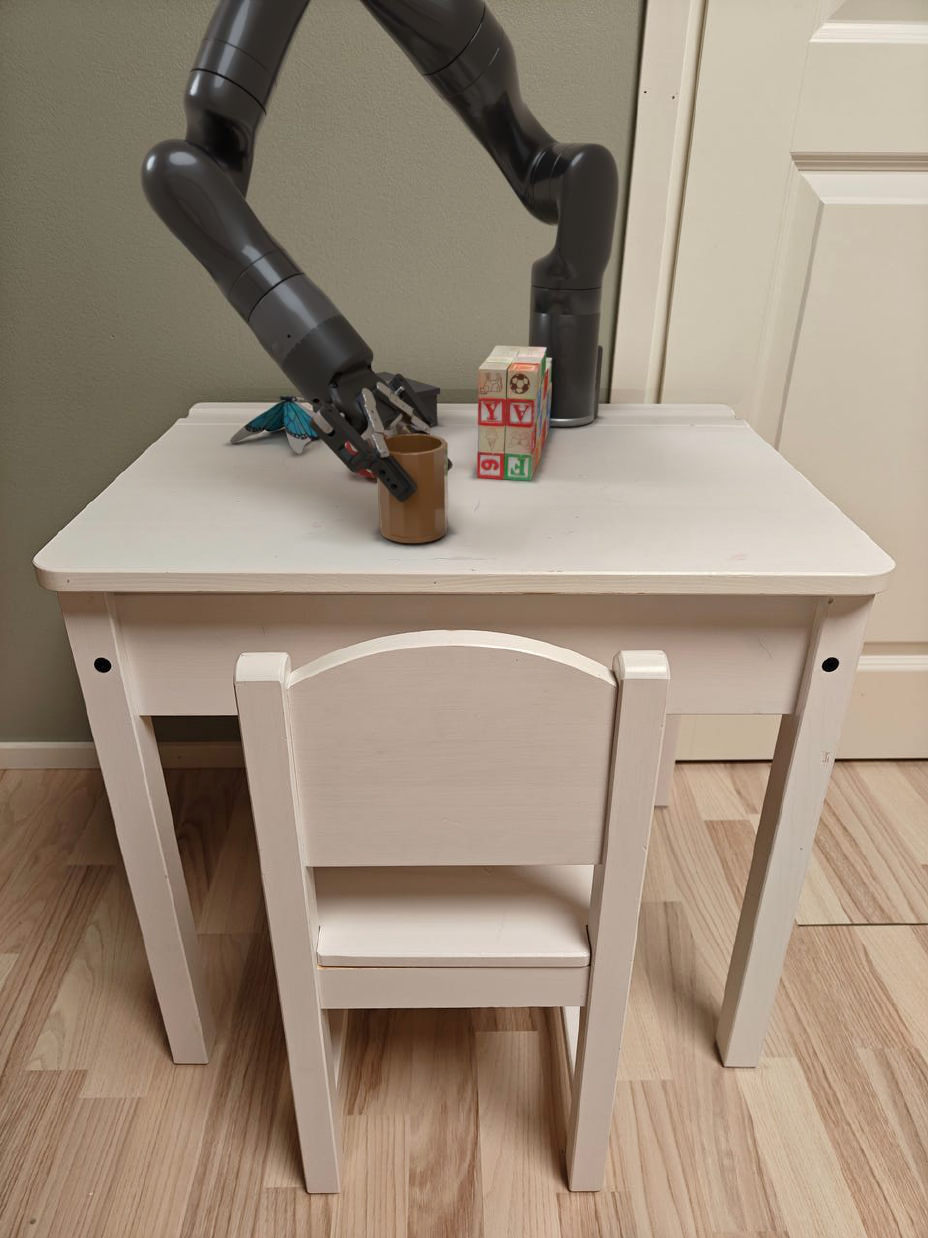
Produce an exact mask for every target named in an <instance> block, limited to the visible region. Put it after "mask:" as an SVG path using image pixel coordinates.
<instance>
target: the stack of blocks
mask: <svg viewBox="0 0 928 1238" xmlns="http://www.w3.org/2000/svg"><path fill="white" fill-rule="evenodd" d="M546 350H547V348H546V347H528V346H520V345H519V346H517V345H516V346H515V345H514V346H513V345H495V346H494V347H493V349H492V351H491V353H490V354H489V356H487V357H486V359H485V361H483V362H482V363H481V365H480V366H479V367H478V382H477V383H478V385H477V386H478V391H477V392H478V394H477V395H478V397H477V451H476V466H477V467H476V477H477V478H479V479H492V480H493V479H494V480H511V481H527V482H531V481H532V479H533V477H534V474H535V472H536V470H537V468H538V464H539V462H540V459H541V457H542V450H543V446H544V443H545V441H546V440H547V439H548V435H549V432H550V429H551V428H550V427H551V426H550V411H551V394H552V382H551V374H552V358H546Z"/></svg>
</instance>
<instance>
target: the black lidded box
mask: <svg viewBox="0 0 928 1238" xmlns="http://www.w3.org/2000/svg"><path fill="white" fill-rule="evenodd" d="M375 373H376V374H377V375H378V376H379V377H380V378H382V379H383V380H384V381H389V380H391V379H392V378H393V377H394V376H395V375H396V374H394V373H391V372H389V371H381V372H375ZM404 378H405V379H406V381H407V382H408V383H409V385H410V386H411V387H412V389H413V390H414V391H415V393H416V394H417V395H418V397H419V398H420V399H421V401H422V402H423V404H424V405H425V406H426V408H427V409H428V410H429V412H430V413H431V414H432V416H433V417H434V419H435V423H434V424H433V425H432V426H431V428H432V427H436V426H438V395H440V394H441V388H440V387H438V386H434V385H431V384H429V383H425V382H421V381H418V380H414V379H411V378H408V377H404ZM321 407H322V406H319V407H315V406H312V411H314V412H315V413H317V412H318V411H319V409H320V408H321ZM413 414H414V415H415V416H416V417H417V418H419V419H421V417H420V416H419V414H418V413H417V412H416V410H415V409H414V410H413ZM396 416H397V417H398V415H397V413H396Z"/></svg>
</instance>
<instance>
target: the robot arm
mask: <svg viewBox="0 0 928 1238" xmlns="http://www.w3.org/2000/svg"><path fill="white" fill-rule="evenodd" d="M312 1H313V0H218V2H217V4H216V6H215V7H214V9H213V12H212V13H211V16H210V18H209V20H208V22H207V25H206V27H205V30H204V33H203V35H202V37H201V40H200V43H199V45H198V48H197V51H196V54H195V55H194V56H195V57H194V59H193V61H192V65H191V68H190V70H189V74H188V75H187V79H186V82H185V85H184V89H183V95H182V107H183V111H184V116H185V122H186V128H185V129H186V132H185V136H184V138H179V137H172V138H166V139H163V140H160V141H157V142H156V143H154V144H153V145H152V146H150V148H149V149H148V150H147V151H146V153H145V155H144V157H143V159H142V162H141V164H140V172H139V179H140V187H141V192H142V193H143V197H144V199H145V201H146V203H147V205H148V206H149V209H150V210H151V211H152V212H153V213H154V214H155V216H156V217H157V218H158V219H159V220H160V221H161V222H162V224H163V225H164V226H165V227H166V228H167V229H168V231H169V232H170V233H171V234H172V236H173V237H175V239H177V240H178V241H179V242H180V243H181V245H183V246H184V248H185V249H187V251H188V252H189V253H190V254H191V255H192V256H193V258H194V259H196V260H197V262H198V263H199V264H200V265H201V266H202V267H203V268H204V270H205V271H206V272H207V273H208V275H209V276H210V277H211V279H212V281H213V282H214V284H215V285H216V287H217V288H218V290H219V291H220V293H221V294H222V296H223V297H224V298H225V300H226V301H227V302H228V304H230V306H231V307H232V308H233V309H234V310H235V312H236V313H237V314H238V316H239V317H240V318H241V319H242V320H243V322H244V323H245V324H246V325H247V326H248V327H249V329H250V330H251V331H252V334H254V336H255V337H256V339H257V341H258V343H259V344H260V345H261V347H262V349H263V350H264V351H265V352H266V354H267V355H268V356H269V357H270V358H271V360H272V361H273V362H274V363H275V365H276V366H277V367H278V368H279V369H280V370H281V372H282V373H283V374H284V375H285V376H286V378H287V379H288V380H289V382H291V384H292V385H293V386H294V388H295V389H296V390H297V391H298V392H299V393H300V394H301V396H302V398H303V399H305V401H306V402H307V403H308V404H309V405H310V406H312V407H313V406H315V407H319V406H322V407H321V408H320V409H319V411H318V412H317V413H316V414H315V415H314V416H313V417H312V419H311V420H310V421H309V426H310V427H311V429H312V430H313V431H314V432H315V433H316V434H317V435H318V436H319V437H320V440H321V441H322V442H323V443H324V444H325V445H326V446H327V447H328V448H329V449H330V451H332V453H334V455H336V457H337V458H338V459H339V460H340V461H341V462H342V464H344V465H345V467H347V468H348V469H349V470H350V472H352V473H355V474H356V473H357V472H358V471H359V470H360V469H365V470H366V471H368V472H373V473H374V474H375V475H376V476H377V477H378V478H379V480H380V481H381V482H382V483H383V484H384V485H385V487H386V488H387V489H388V490H389V492H390V493H391V494H392V495H393V496H394V497H396V499H397V500H398V501H400V502H404V501H405V500H407V499H408V498H409V497H410V496H412V495H413V494H414V493H415V492H416V491H417V489H418V487H417V484H416V483H415V482H414V480H413V479H412V478H411V477H410V476H409V474H408V473H407V472H406V471H405V470H404V468H403V467H402V466H401V465H400V464H399V463H398V461H397V460H396V459H395V458H394V457H393V455H392V456H391V457H389V458H388V456H389V450H388V448H387V446H386V443H385V441H384V438H383V434H385V435H386V436H391V435H397V434H405V433H409V432H407V431H406V430H404V429H403V427H404V426H406V427H407V428H408V430H409V431H410V432H411V433H420V434H429V435H431V432H432V429H431V428H432V427H433V426H432V425H433V424H434V423H435V419H434V417H433V416H432V414H431V413H430V412H429V410H428V409H427V408H426V406H425V405H424V404H423V402H422V401H421V399H420V398H419V397H418V395H417V394H416V393H415V391H414V390H413V389H412V387H411V386H410V385H409V383H408V382H407V381H406V379H405V378H406V377H404V376H403V374H401V373H396V374H394V375H395V376H394V377H393V378H392V379H391V380H389V381H384V380H383V379H382V378H380V377H379V376H378V375H377V374H376V373H377V372H375V371H373V369H372V363H373V361H374V351H373V350H372V348H371V347H370V346H369V345H368V343H367V342H366V341H365V340H364V339H363V338H362V336H361V335H360V334H359V332H358V331H357V330H356V329H355V328H354V327H353V325H352V324H351V322H349V320H348V319H347V318H346V316H345V315H344V314H343V313H342V311H341V310H340V309H339V308H338V306H336V304H335V303H334V302H333V300H332V299H331V298H330V297H329V296H328V295H327V294H326V292H325V291H323V290H322V289H321V288H320V287H319V286H318V285H317V284H316V283H315V282H314V281H313V280H312V279H311V278H310V277H309V275H307V273H305V271H304V270H303V268H302V267H301V266H300V265H299V263H298V262H297V261H296V260H295V259H294V258H293V256H292V254H290V253H289V252H288V251H289V250H287V249H286V248H285V247H284V245H282V243H281V242H280V241H278V240H277V238H275V236H274V235H273V234H272V233H271V232H270V231H269V230H268V229H267V228H266V227H265V225H264V224H263V223H262V222H261V220H260V219H259V218H258V216H257V214H256V213H255V212H254V210H253V209H252V207H251V205H250V204H249V203H248V202H247V196H248V191H249V188H250V187H249V186H250V181H251V176H252V172H253V166H254V161H255V153H256V147H257V142H258V139H259V135H260V132H261V130H262V128H263V125H264V123H265V120H266V117H267V115H268V112H269V109H270V107H271V105H272V102H273V99H274V97H275V93H276V91H277V88H278V85H279V82H280V80H281V77H282V74H283V71H284V69H285V66H286V64H287V60H288V58H289V55H290V53H291V50H292V48H293V45H294V43H295V40H296V38H297V35H298V32H299V30H300V29H301V26H302V23H303V22H304V19H305V16H306V14H307V12H308V10H309V8H310V5H311V3H312ZM358 1H359V2H360V3H361V5H363V7H364V8H365V9H366V11H367V12H368V13H369V14H370V15H371V16H372V17H373V19H374V20H375V21H376V22H377V24H378V25H379V26H380V27H381V28H382V30H384V32H385V33H386V34H387V35H388V36H389V38H390V39H391V40H392V41H393V42H394V43H395V44H396V45H397V47H398V48H399V49H400V50H401V51H402V52H403V54H404V55H405V57H406V58H407V59H408V60H409V62H410V63H411V65H412V66H413V67H414V69H416V71H417V72H418V73H419V74H420V76H421V77H422V78H423V79H424V81H425V82H426V83H427V84H428V85H429V87H431V89H432V90H433V91H434V92H435V94H436V95H437V96H438V97H439V98H440V99H441V100H442V102H443V103H444V104H445V105H446V106H447V107H448V108H449V109H450V110H451V112H453V113H454V115H455V116H456V117H457V119H458V120H459V122H461V124H463V126H464V127H465V128H466V130H467V131H468V132H469V133H470V135H471V136H472V137H473V138H474V139H475V140H476V142H478V143H479V145H480V146H481V147H482V149H484V151H485V152H486V153H487V154H488V156H489V157H490V158H491V159H492V161H493V163H494V164H495V165H496V167H497V168H498V170H499V171H500V173H501V174H502V176H503V178H504V179H505V180H506V182H507V184H508V185H509V186H510V188H511V190H512V191H513V193H514V194H515V196H516V197H517V199H518V200H519V202H520V203H521V205H522V206H523V208H524V209H525V211H527V213H528V214H529V215H530V216H531V217H532V218H533V219H535V220H536V221H537V222H539V223H540V224H544V225H547V226H551V227H557V229H556V237H555V243H554V246H553V247H552V249H551V250H550V251H549V252H548V253H547V254H546V255H544V256H542V257H539V258H538V259H535V261H534V262H533V263H532V266H531V270H530V271H531V272H530V293H529V321H528V322H529V324H528V344H527V345H528V346H527V347H546V348H547V350H546V358H552V374H551V382H552V394H551V411H550V427H559V428H560V427H561V428H565V427H566V428H569V427H579V426H583V425H587V424H590V423H592V422H593V421H594V418H598V417H599V405H600V393H601V379H602V367H603V357H604V356H603V355H604V348H603V346H602V345H601V344H600V343H599V342H600V341H599V340H600V329H601V328H600V327H601V314H602V300H603V286H604V278H605V273H606V270H607V268H608V266H609V263H610V260H611V257H612V252H613V243H614V236H615V229H616V220H617V213H618V206H619V205H618V204H619V197H620V195H619V193H620V177H619V168H618V165H617V161H616V159H615V156H614V155H613V153H612V152H611V150H610V149H609V148H607V147H606V146H605V145H603V144H601V143H596V142H560V141H558V140H557V139H555V138H554V137H553V136H552V135H551V134H550V133H549V132H548V131H547V130H546V129H545V127H544V126H543V125H542V124H541V122H540V121H539V120H538V119H537V117H536V116H535V115H534V113H533V112H532V111H531V109H530V107H529V106H528V104H527V101H526V100H525V97H524V93H523V88H522V83H521V76H520V69H519V64H518V60H517V56H516V51H515V49H514V46H513V43H512V41H511V39H510V37H509V35H508V34H507V32H506V31H505V29H504V27H503V26H502V24H501V23H500V22H499V20H498V19H497V18H496V15H495V14H494V13H493V12H492V10H491V9H490V8H489V6H488V5H487V4H486V2H485V1H484V0H358ZM414 409H415V410H416V412H417V413H418V414H419V416H420V417H421V419H419V418H417V417H416V416H415V415H414V414H413V410H414ZM396 413H397V415H398V417H397V416H396ZM431 426H432V427H431ZM360 435H361V436H360ZM347 441H349V443H350V446H351V448H352V450H353V451H356V452H357V453H356V454H355V455H354V456H353V455H352V454H351V452H350V451H349V450H348V449H347V448H346V443H347ZM372 445H373V447H374V449H372V448H371V446H372ZM451 469H453V462H452V461H451V459H450V458H449V457H448V472H449V471H450V470H451ZM357 474H358V473H357Z"/></svg>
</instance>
